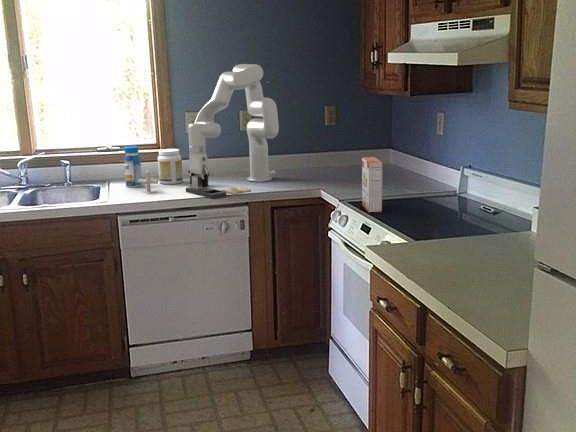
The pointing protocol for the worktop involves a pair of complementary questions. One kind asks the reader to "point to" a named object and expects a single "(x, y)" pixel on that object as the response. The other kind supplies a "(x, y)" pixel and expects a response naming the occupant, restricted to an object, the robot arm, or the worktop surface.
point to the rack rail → (207, 192)
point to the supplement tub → (170, 166)
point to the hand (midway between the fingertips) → (199, 185)
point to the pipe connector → (148, 181)
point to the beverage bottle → (132, 166)
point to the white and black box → (197, 183)
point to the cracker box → (372, 184)
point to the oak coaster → (236, 190)
